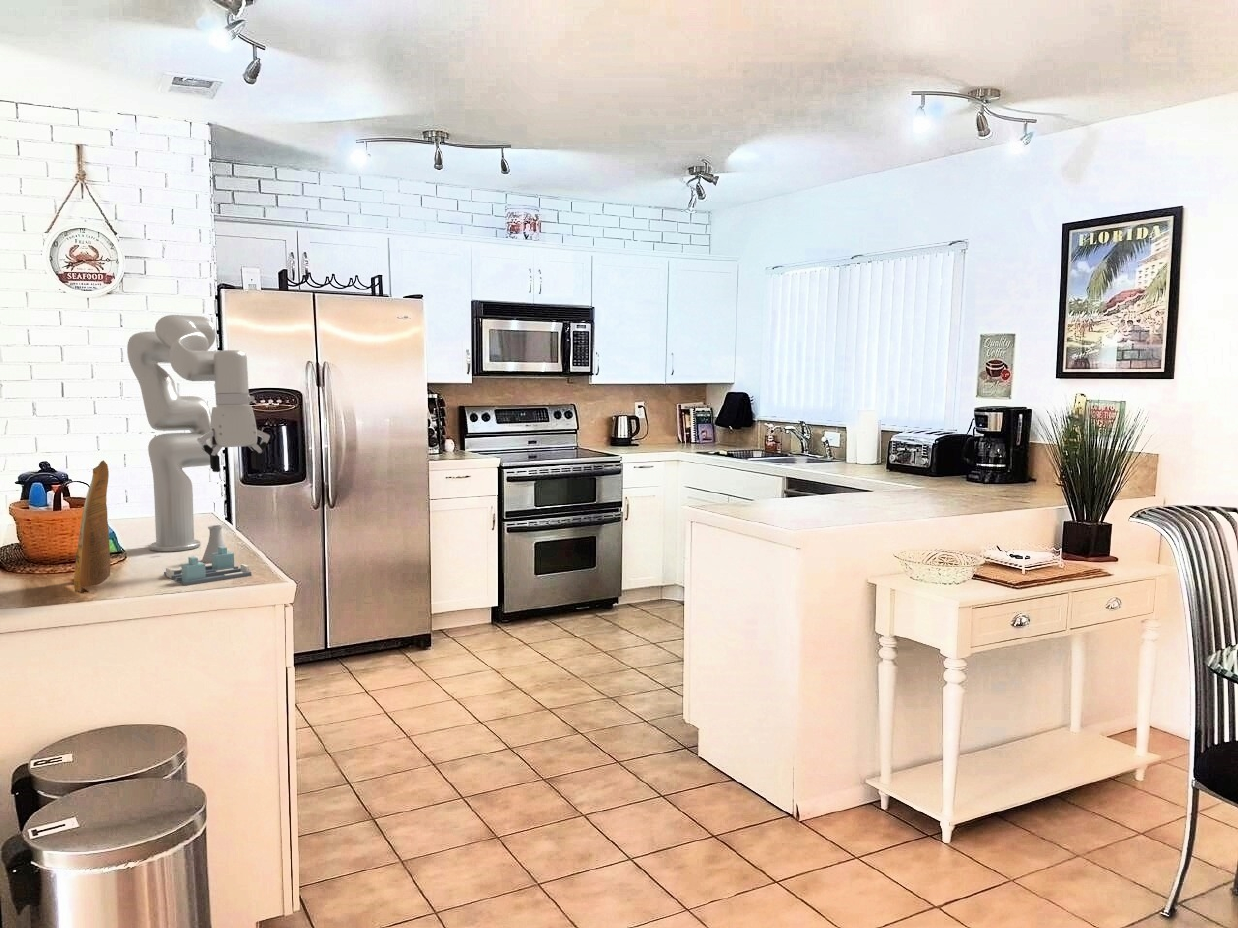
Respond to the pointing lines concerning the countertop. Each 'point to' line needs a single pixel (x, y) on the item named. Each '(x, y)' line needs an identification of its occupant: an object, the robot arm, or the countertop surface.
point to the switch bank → (210, 574)
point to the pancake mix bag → (94, 534)
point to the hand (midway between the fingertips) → (236, 470)
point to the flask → (213, 542)
